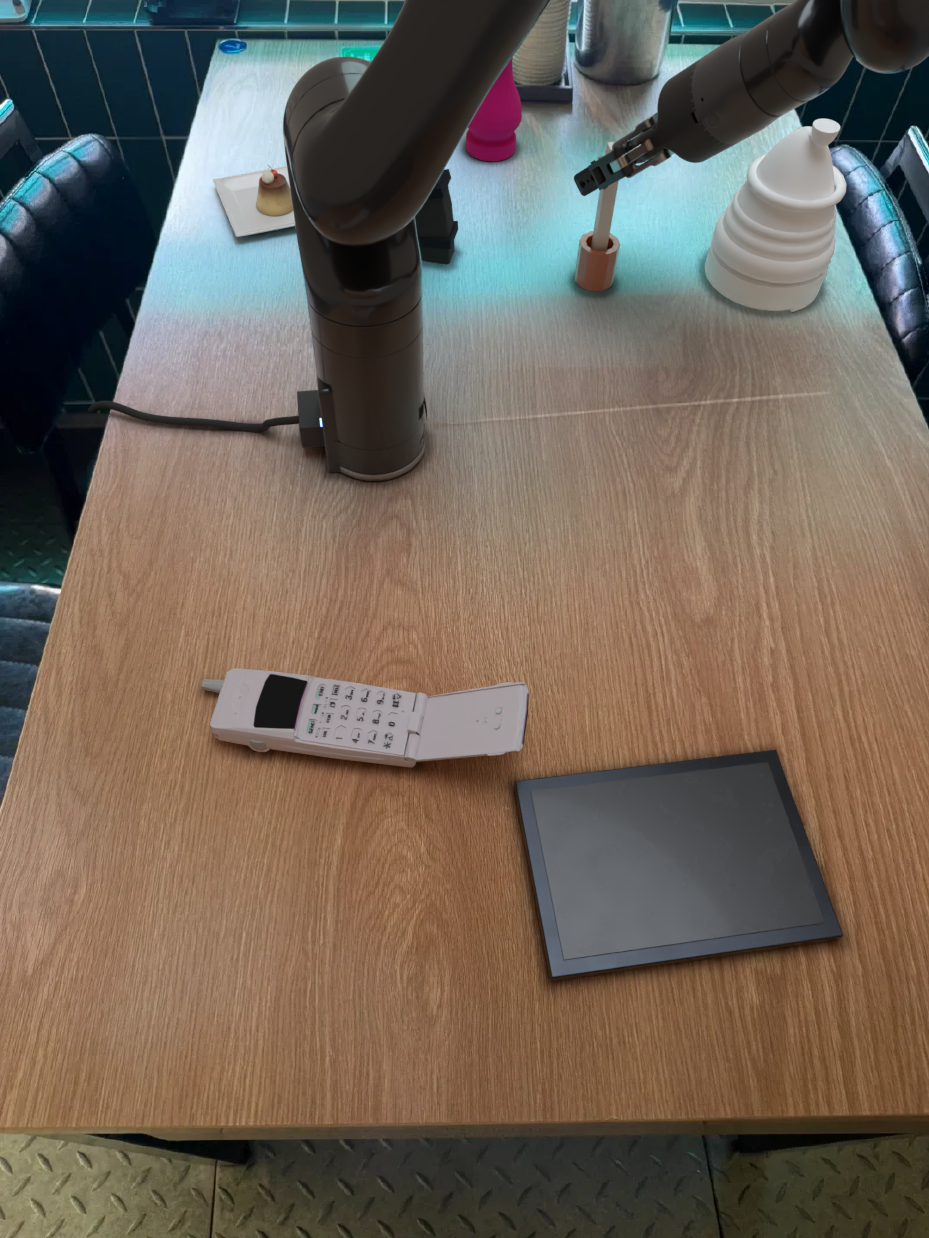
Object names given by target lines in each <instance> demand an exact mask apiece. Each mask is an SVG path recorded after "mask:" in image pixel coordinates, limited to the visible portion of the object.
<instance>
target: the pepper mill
mask: <svg viewBox="0 0 929 1238" xmlns="http://www.w3.org/2000/svg"><path fill="white" fill-rule="evenodd" d="M513 58H514V56H513V57H512V58H511V60H510V61H509V63H508V64H507V65H506V67H505V68H504V70H503V71H502V72H501V74H500V75H499V77H498V78H497V80H496V81H495V83H494V84H493V86H492V87H491V89H490V91H489V92H488V94H487V95H486V97H485V99H484V100H483V102H482V104H481V105H480V107H479V109H478V110H477V112H476V114H475V116H474V117H473V119H472V121H471V123H470V124H469V126H468V128H467V130H466V132H465V148H466V152H467V154H469V155H470V156H471V157H473V158H475V159H476V160H480V161H483V162H500V161H503V160H507V159H509V158H511V157H512V156H513V154H514V153H515V152H516V147H517V134H516V132H515V131H516V130H517V129H518V128H519V127H520V125H521V122H522V120H523V119H522V118H523V107H522V102H521V96H520V94H519V91H518V88H517V85H516V82H515V79H514V74H513Z"/></svg>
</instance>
